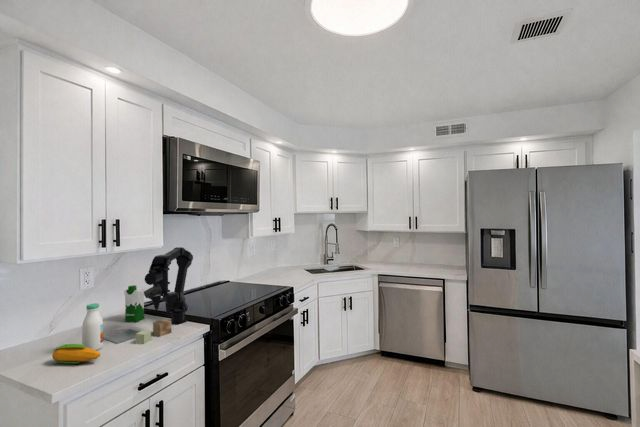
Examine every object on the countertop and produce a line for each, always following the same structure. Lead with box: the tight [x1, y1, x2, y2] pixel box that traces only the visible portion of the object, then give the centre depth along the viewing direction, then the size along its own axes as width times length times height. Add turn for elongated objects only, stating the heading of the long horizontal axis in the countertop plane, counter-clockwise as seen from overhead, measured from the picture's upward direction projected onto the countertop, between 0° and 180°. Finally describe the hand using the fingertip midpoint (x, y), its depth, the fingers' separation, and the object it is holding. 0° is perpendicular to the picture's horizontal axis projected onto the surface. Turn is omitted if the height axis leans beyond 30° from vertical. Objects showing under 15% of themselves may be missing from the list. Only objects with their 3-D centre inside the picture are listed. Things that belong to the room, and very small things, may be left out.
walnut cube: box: [152, 318, 172, 337], centre depth 163 cm, size 6×6×6 cm
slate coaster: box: [103, 328, 140, 345], centre depth 159 cm, size 13×13×1 cm
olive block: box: [135, 330, 152, 345], centre depth 152 cm, size 4×4×4 cm
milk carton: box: [123, 284, 146, 323], centre depth 184 cm, size 9×9×20 cm
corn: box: [51, 343, 101, 365], centre depth 132 cm, size 7×8×20 cm
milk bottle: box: [81, 303, 104, 351], centre depth 144 cm, size 8×8×20 cm
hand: (162, 311), depth 163 cm, fingers open, 9 cm apart
